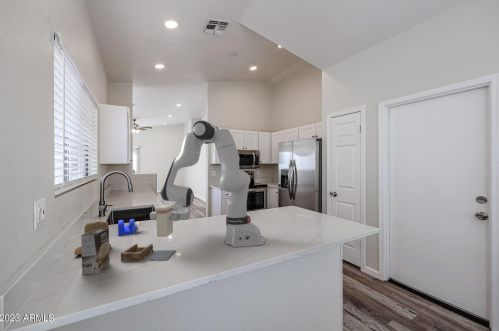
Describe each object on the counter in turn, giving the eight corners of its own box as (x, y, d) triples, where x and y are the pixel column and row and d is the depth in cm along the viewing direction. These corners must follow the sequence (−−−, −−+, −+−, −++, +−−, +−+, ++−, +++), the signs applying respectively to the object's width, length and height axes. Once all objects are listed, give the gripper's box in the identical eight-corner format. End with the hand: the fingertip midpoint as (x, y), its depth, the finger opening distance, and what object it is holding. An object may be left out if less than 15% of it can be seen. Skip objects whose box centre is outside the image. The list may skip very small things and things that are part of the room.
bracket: (133, 234, 143) (132, 220, 143) (118, 236, 141) (117, 221, 141) (137, 226, 161) (137, 214, 160) (124, 228, 158) (124, 215, 158)
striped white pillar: (173, 232, 116) (172, 204, 116) (167, 236, 109) (166, 207, 109) (163, 232, 117) (162, 205, 116) (156, 236, 110) (155, 207, 109)
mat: (175, 251, 114) (175, 250, 114) (166, 260, 103) (166, 259, 103) (158, 251, 114) (158, 250, 114) (147, 260, 103) (147, 259, 103)
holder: (153, 250, 115) (152, 243, 115) (140, 261, 103) (139, 253, 103) (135, 250, 116) (135, 243, 116) (121, 260, 104) (120, 253, 104)
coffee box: (98, 273, 92) (97, 234, 91) (81, 275, 91) (80, 235, 91) (110, 263, 101) (109, 227, 101) (95, 264, 100) (94, 228, 100)
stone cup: (110, 244, 126) (109, 217, 126) (111, 250, 116) (110, 221, 116) (76, 250, 118) (75, 221, 118) (74, 258, 108) (73, 227, 108)
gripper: (156, 207, 126) (143, 212, 113) (192, 206, 125) (183, 212, 111) (157, 218, 126) (143, 225, 113) (193, 218, 125) (184, 224, 111)
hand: (163, 218), depth 112 cm, fingers closed on striped white pillar, 5 cm apart
